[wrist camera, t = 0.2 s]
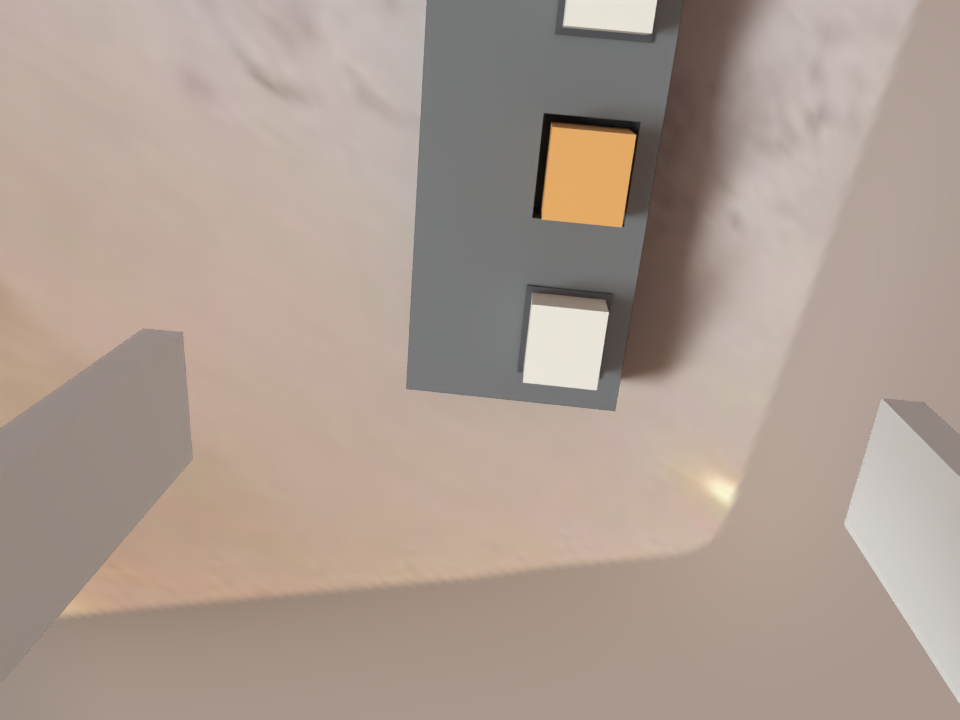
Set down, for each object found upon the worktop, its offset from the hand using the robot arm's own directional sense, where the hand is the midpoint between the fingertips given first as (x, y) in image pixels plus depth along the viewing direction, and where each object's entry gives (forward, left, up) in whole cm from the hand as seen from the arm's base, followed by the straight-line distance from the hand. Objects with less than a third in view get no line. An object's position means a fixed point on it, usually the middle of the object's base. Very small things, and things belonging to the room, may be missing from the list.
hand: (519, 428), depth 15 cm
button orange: (-2, +2, -24) cm, 25 cm away
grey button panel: (-2, -1, -27) cm, 27 cm away
